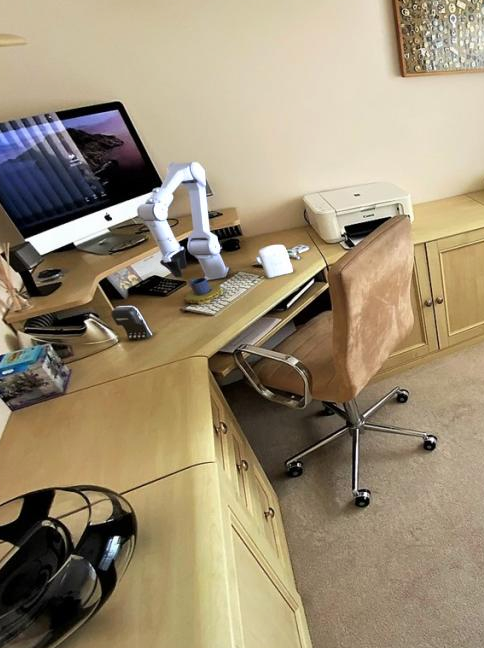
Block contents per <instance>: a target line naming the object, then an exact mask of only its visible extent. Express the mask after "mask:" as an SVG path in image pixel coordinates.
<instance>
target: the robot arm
mask: <svg viewBox="0 0 484 648" xmlns="http://www.w3.org/2000/svg"><path fill="white" fill-rule="evenodd" d="M166 172H167V174H166V176H165V178H164V180H163V182H162V183H161V186H160V187H155V188H153V189H152V192H151V194H150V195H149V197H148V198H147V199H146V201H145V203H141V204H139V205H138V207H137V209H136V212H137V217H138V219H139V220H140V221H142V222H143V223H144V225H145V226H146V227H147V228H148V229H149V231H150V234H151V235H152V237H153V239H154V241H155V243H156V245H157V247H158V250H159V252H160V255H161V260H160V261H159V263H160V265H161V266H163V267H164V268H166V269H167V270H168V271H169V272H170V273H171V274H172V275H173V277H174V278H182V277H183V272H182V270H183V269H188V264H187V260H186V248H185V247H184V246H181V245H180V243H179V241H177V239H176V237H175V235H174V233H173V231H172V228H171V226H170V224H169V223H168V220H167V218H168V216H169V214H168V211H169V207H170V205H171V204H172V202H173V200H174V195H173V193H174V192H175V191H176V189H177V188H178V187H179V185H181V186H183V187H185V188H186V189H187V190H188V191H189V201H190V210H191V221H192V230H193V231H192V232H191V233H190V234H189V235H188V236H187V239H188V241H187V245H186V247H187V252H188V253H189V254H190V255H192V256H194V257H195V259H197V260H198V262H199V265H200V267H201V269H202V271H203V273H204V277H203V278H206V279H207V281H212V280H217V279H224V278H226V277H227V274H228V272H229V268H230V267H228V266H227V267H226V265H225V262H224V260H223V258H222V255H221V254H220V253H221V245H220V242H219V240H218V236H217V234H214V233H213V232H211V229H210V221H209V209H208V199H207V192H206V191H207V190H206V189H207V188H206V186H207V181H206V171H205V169H204V168H203V166H202V165H201V164H200V163H199V162H197V161H191V162H190V161H189V162H188V161H187V162H174V161H173V162H170V163H169V164H168V166H167V167H166Z"/></svg>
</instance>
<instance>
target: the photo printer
mask: <svg viewBox="0 0 484 648" xmlns="http://www.w3.org/2000/svg"><path fill="white" fill-rule="evenodd" d="M287 250H288V249H286V247H285V245H284V244H272V245H268V246H264V247H262V248H260V249H259V250H258V256H259V257H260V260H261V263H262V264H261V265H262V268H263V271H264V274H265V276H266V278H267V279H270V278H271V279H272V278H275V277H279V276H284V275H288V274H291V273H293V272H294V269H293V266H292V262H291V259H290V257H289V256H288V253H287Z"/></svg>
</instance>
